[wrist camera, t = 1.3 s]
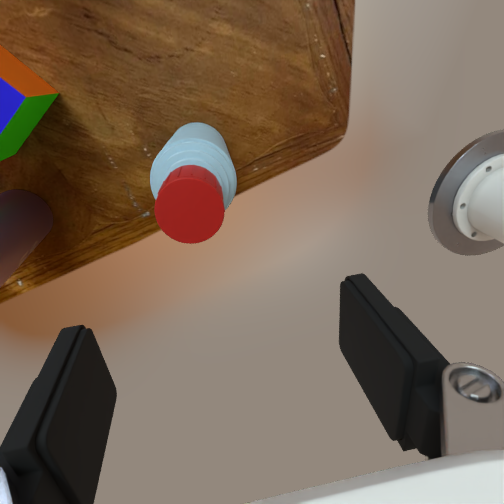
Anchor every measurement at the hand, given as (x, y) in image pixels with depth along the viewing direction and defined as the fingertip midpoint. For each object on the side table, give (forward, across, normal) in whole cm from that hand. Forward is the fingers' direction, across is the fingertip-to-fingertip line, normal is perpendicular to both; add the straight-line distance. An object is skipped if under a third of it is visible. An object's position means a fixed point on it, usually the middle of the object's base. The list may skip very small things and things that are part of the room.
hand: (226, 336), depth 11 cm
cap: (+14, +1, -1) cm, 14 cm away
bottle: (+31, 0, 0) cm, 31 cm away
